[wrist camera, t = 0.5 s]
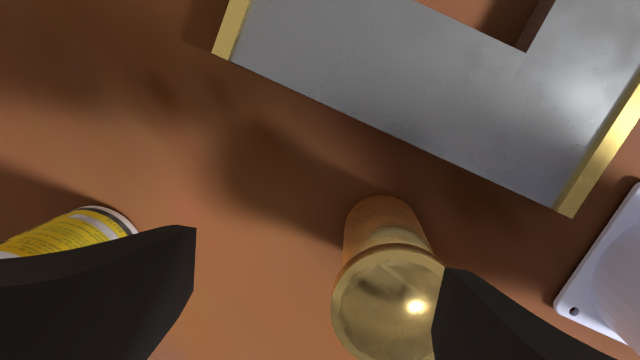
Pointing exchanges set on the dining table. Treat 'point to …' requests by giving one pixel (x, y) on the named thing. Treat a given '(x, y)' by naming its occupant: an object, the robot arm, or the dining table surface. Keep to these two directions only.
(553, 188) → the jig
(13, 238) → the supplement bottle
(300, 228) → the dining table surface
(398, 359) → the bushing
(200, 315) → the dining table surface
